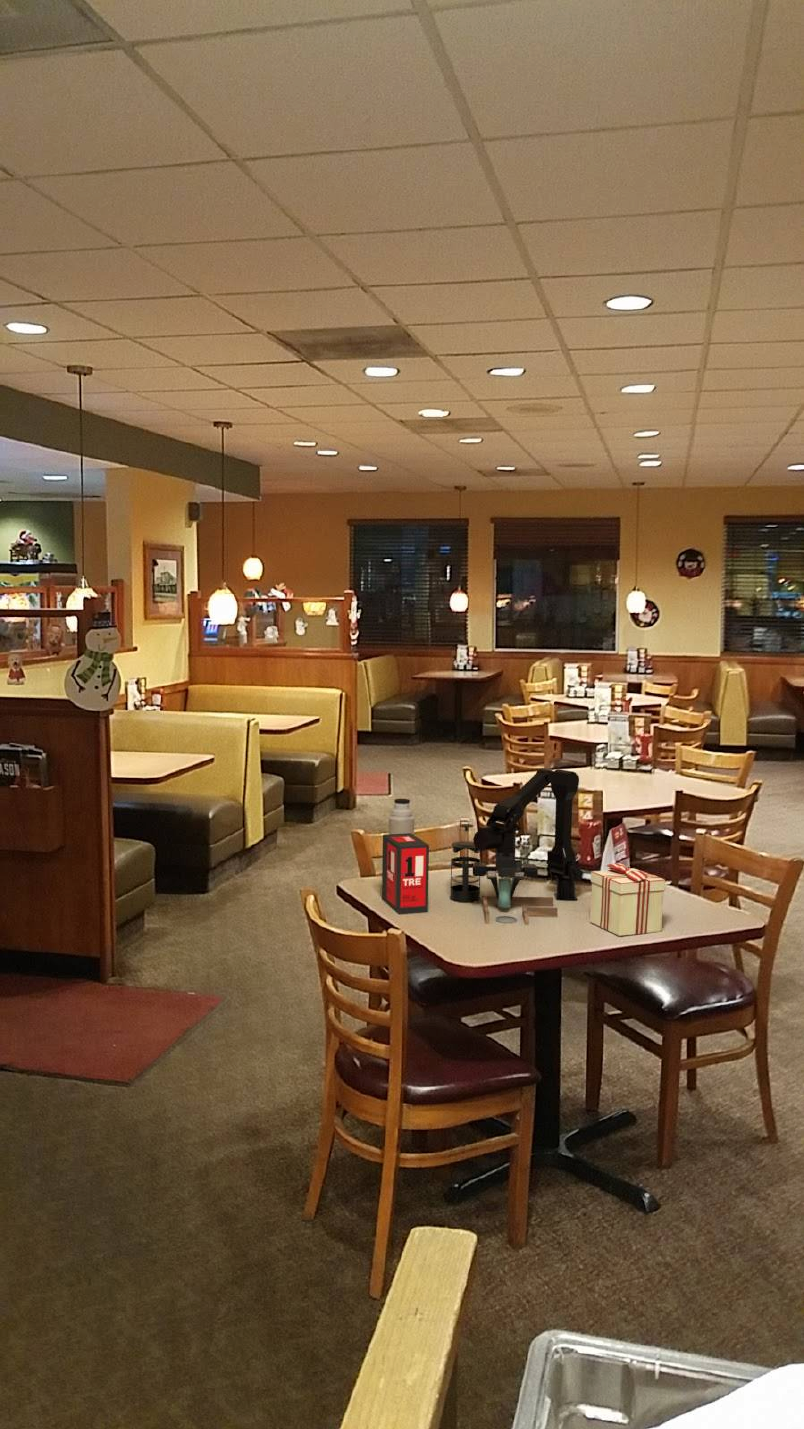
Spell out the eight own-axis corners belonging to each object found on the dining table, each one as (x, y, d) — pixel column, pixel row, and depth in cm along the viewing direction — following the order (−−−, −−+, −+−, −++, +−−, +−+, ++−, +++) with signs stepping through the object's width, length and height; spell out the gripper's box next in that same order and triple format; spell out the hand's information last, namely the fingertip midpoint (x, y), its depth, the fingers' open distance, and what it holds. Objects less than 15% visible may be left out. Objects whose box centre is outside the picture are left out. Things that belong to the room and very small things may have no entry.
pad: (494, 916, 317) (495, 915, 317) (515, 917, 317) (515, 916, 317) (496, 922, 311) (496, 921, 311) (517, 923, 311) (517, 922, 311)
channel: (482, 904, 330) (482, 895, 330) (552, 905, 329) (552, 897, 329) (485, 923, 310) (485, 915, 310) (560, 925, 309) (560, 916, 309)
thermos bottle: (382, 885, 349) (384, 798, 346) (402, 881, 354) (403, 796, 351) (398, 891, 343) (400, 802, 340) (418, 887, 348) (419, 799, 345)
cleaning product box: (427, 912, 320) (429, 845, 318) (398, 914, 318) (399, 846, 316) (409, 897, 336) (410, 833, 334) (381, 899, 333) (382, 834, 331)
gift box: (673, 930, 307) (676, 869, 305) (622, 939, 298) (624, 876, 296) (633, 914, 322) (635, 856, 320) (582, 922, 313) (584, 863, 311)
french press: (480, 904, 330) (482, 828, 327) (449, 903, 330) (451, 827, 328) (479, 893, 342) (481, 820, 339) (449, 892, 342) (451, 819, 340)
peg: (497, 904, 324) (498, 877, 323) (509, 904, 324) (510, 878, 323) (498, 907, 320) (499, 880, 319) (510, 908, 320) (511, 881, 319)
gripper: (474, 852, 312) (473, 905, 314) (540, 853, 312) (538, 907, 313) (473, 843, 323) (471, 895, 325) (536, 844, 323) (535, 896, 324)
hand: (504, 898), depth 322 cm, fingers closed on peg, 3 cm apart
